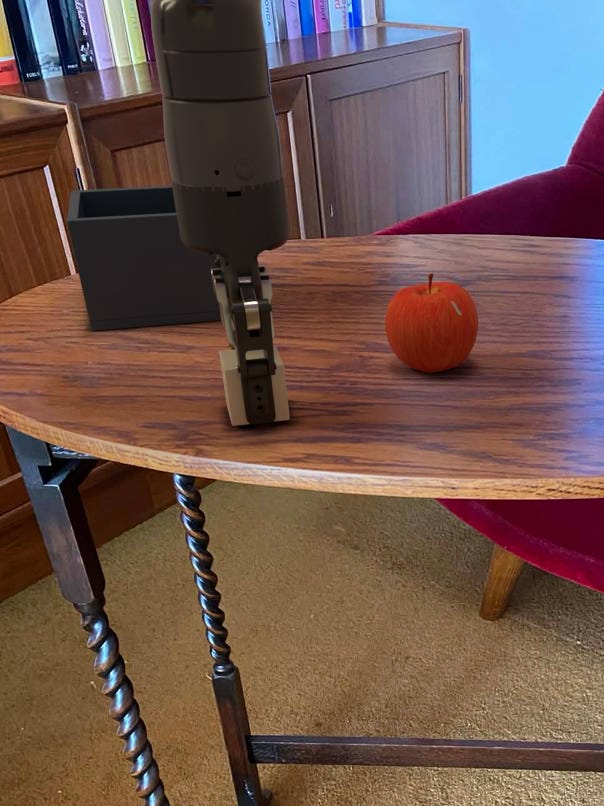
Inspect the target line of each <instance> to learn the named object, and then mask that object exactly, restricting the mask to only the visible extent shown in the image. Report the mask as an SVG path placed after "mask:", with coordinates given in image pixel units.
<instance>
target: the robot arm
mask: <svg viewBox="0 0 604 806" xmlns="http://www.w3.org/2000/svg"><path fill="white" fill-rule="evenodd" d="M262 6H263V5H262V0H152V1H151V6H150V27H151V35H152V36H151V37H152V43H153V47H154V55H155V61H156V68H157V74H158V81H159V86H160V87H159V88H160V91H161V92H160V94H161V95H162V96H161V102H162V112H163V113H162V114H163V119H162V120H163V136H164V143H165V150H166V156H167V164H168V169H169V175H170V182H171V186H172V189H173V195H174V201H175V207H176V214H177V220H178V226H179V232H180V239H181V241H182V243H183V244H184V245H185V246H186V247H187V248H188V249H190V250H192V251H195V252H199V253H203V254H213V253H216V254H219V255H216V260H215V266H216V267H217V268H215V269H211V277H212V283H213V288H214V292H215V294H216V299H217V301H218V304H219V312H220V318H221V320H220V321H221V325H222V327H223V328H224V333H225V339H226V341H227V343H228V347H229V348H230V350H235V353H236V359H237V366H236V371H237V373H239V377H240V378H241V385H242V393H243V400H244V408H245V415H246V419H247V421H248V423H250V424H249V425H253V426H254V425H263V424H264V425H265V424H272V423H273V421H274V420H275V419H276V413H275V405H274V396H273V388H272V379H271V375H275V370H277V368H276V363H275V362H274V350H273V346H274V339H275V336H276V333H275V326H274V321H273V320H274V318H273V307H272V303H271V300H272V299H273V296H274V294H273V286H272V279H271V275H270V273H269V274H268V273H267V268H266V265H265V264H262V265H261V264H259V259H258V257H259V255H260V254H262V253H263V252H265V251H268V252H272V251H274V250H277V249H279V248H281V247H283V246H284V245H285V244H286V243H287V242H288V240H289V237H290V230H289V220H288V219H289V218H288V210H287V200H286V189H285V179H284V178H285V177H284V169H283V168H284V167H283V159H282V148H281V139H280V132H279V126H278V121H277V117H276V112H275V108H274V102H273V96H272V95H271V94H272V84H271V83H272V82H271V73H270V64H269V54H268V48H267V46H268V45H267V37H266V30H265V25H264V17H263V7H262ZM253 350H262V351H263V358H259V359H248V360H246V352H248V351H253ZM274 422H275V421H274Z"/></svg>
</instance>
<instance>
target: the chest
mask: <svg viewBox="0 0 604 806" xmlns="http://www.w3.org/2000/svg"><path fill="white" fill-rule="evenodd" d="M66 224H67V228H68V232H69V233H68V234H69V237H70V241H71V246H72V250H73V255H74V260H75V264H76V268H77V272H78V277H79V281H80V285H81V290H82V294H83V299H84V303H85V307H86V312H87V316H88V321H89V326H90V329H91V331H92V332H97V331H108V330H110V331H111V330H121V329H130V328H133V329H134V328H141V327H142V328H143V327H156V326H168V325H169V326H170V325H179V324H190V323H191V324H192V323H204V322H215V321H221V318H220V312H219V304H218V301H217V299H216V294H215V292H214V288H213V283H212V277H211V269H215V268H217V267H216V266H215V260H216V255H219V254H216V253H213V254H203V253H199V252H195V251H192V250H190V249H188V248H187V247H186V246H185V245H184V244H183V243H182V241H181V239H180V232H179V226H178V220H177V214H176V207H175V201H174V195H173V189H172V185H159V186H158V185H157V186H156V185H155V186H137V187H117V188H98V189H97V188H96V189H95V188H93V189H77V190H71V191H70V197H69V205H68V212H67V218H66Z"/></svg>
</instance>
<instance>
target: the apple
mask: <svg viewBox="0 0 604 806" xmlns="http://www.w3.org/2000/svg"><path fill="white" fill-rule="evenodd" d="M427 278H428V282H427V283H420V284H416V285H410V286H406V287H403V288H401V289H400V290H398V291H397V292H395V294H394V295H393V297H392V298H391V299H390V301H389V303H388V305H387V308H386V311H385V317H384V329H385V335H386V339H387V342H388V345H389V347H390V348H391V351H392V352H393V354H394V355H395V356H396V357H397V359H398V360H399V361H400V362H401V363H403V364H404V365H406V366H407V367H409V368H412V369H413V370H418V371H421V372H422V373H423V372H424V373H427V374H429V373H430V374H432V373H433V374H434V373H438V372H445V371H447V370H451V369H454V368H457V367H458V366H459V365H461V364H462V363H463V362H465V360H466V359H467V358H468V357H469V355H470V354H471V352H472V350H473V348H474V346H475V344H476V340H477V337H478V332H479V315H478V314H479V313H478V311H477V307H476V304H475V302H474V300H473V298H472V296H471V295H470V293H469V292H468V291H467V290H466V289H465V288H464V287H463V286H461V285H460V284H458V283H455V282H451V281H435V282H434V281H433V278H434V272H431V273H429V274H428V277H427Z"/></svg>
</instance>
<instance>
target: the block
mask: <svg viewBox="0 0 604 806" xmlns="http://www.w3.org/2000/svg"><path fill="white" fill-rule="evenodd" d="M273 350H274V362H275V363H276V368H277V370H275V375H271V379H272V388H273V396H274V405H275V413H276V419H275V420H274V421H273V422H281V421H290V419H291V417H290V409H289V399H288V398H289V397H288V389H287V380H286V372H285V371H286V370H285V364H284V362H283V359H282V356H281V355H280V352H279V350H278V348H277V346H276V345H273ZM218 355H219V362H220V369H221V376H222V382H223V389H224V396H225V402H226V403H225V404H226V407H227V411H228V415H229V419H230V423H231V426H233V427H236V426H245V425H251V424H250V423H248V421H247V419H246V415H245V408H244V400H243V393H242V385H241V378H240V377H239V373H237V371H236V366H237V359H236V353H235V350H231V349H224V350H223V349H222V350H219V351H218ZM259 358H263V351H262V350H253V351H248V352H246V360H248V359H259ZM273 422H272V423H273Z"/></svg>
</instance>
